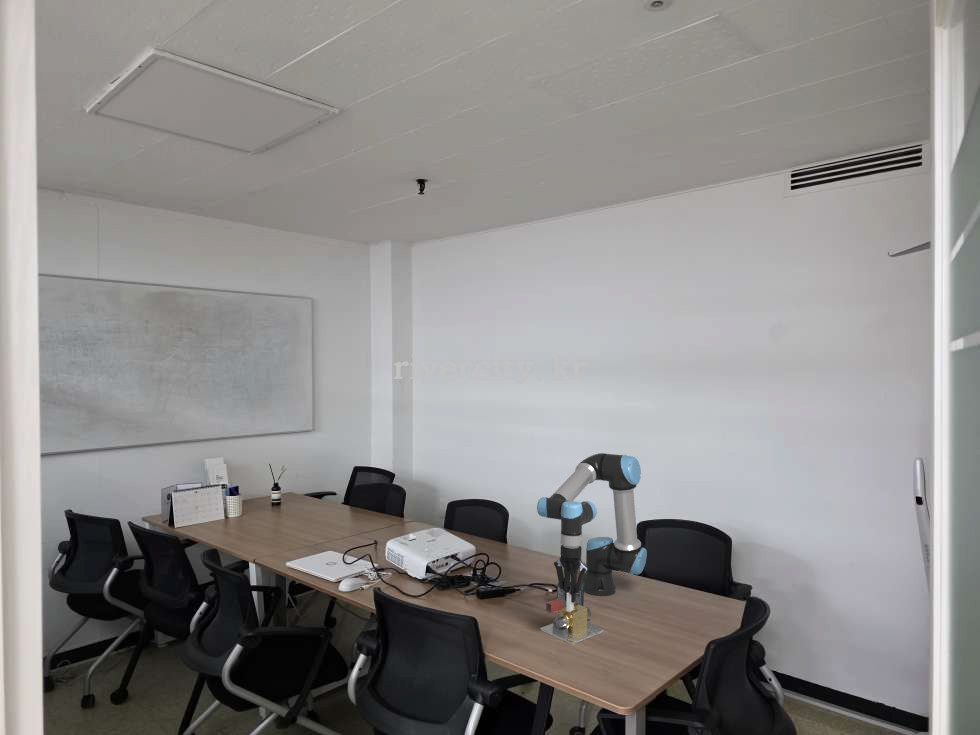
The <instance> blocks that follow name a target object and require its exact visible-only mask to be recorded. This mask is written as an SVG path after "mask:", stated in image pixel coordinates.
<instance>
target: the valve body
mask: <svg viewBox="0 0 980 735" xmlns="http://www.w3.org/2000/svg"><path fill="white" fill-rule="evenodd" d="M566 610H567V607H565V608H563V609H561V610H558V611H556V612H557V613H556V617H554V618H553V619H552V623H549V624H547V625H545V626H542V627H540V628H539V631H541V632H544V633H546V634H548V635H549V636H552V637H554V638H556V639H559V640H560V641H563V642H565V643H567V644H569V645H572V646H573V645H575V644H577V643H580V642H581V641H584V640H587V639H589V638H592V637H594V636H596V635H599V634H601V633H604V631H605V630H604V628H601V627H598V626H596V625H593V624H592V620H591V614H592V612H591V610H590V608H589V607H587V606H581V605H579V604H578V605H577V606H574V610H572V611H571V612H568V611H566ZM589 618H590V619H589Z"/></svg>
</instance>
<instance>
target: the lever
mask: <svg viewBox="0 0 980 735" xmlns="http://www.w3.org/2000/svg"><path fill="white" fill-rule="evenodd" d="M577 605H578V595H576V601H575V602H574V606H577ZM565 607H567V601H565V597H563V598H560V599H557V598H555V599H552V600H549V601H546V602H545V611H546V612H549V613H555V612H557V611H558V610H561V609H563V608H565Z"/></svg>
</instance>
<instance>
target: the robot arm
mask: <svg viewBox="0 0 980 735" xmlns="http://www.w3.org/2000/svg"><path fill="white" fill-rule="evenodd" d="M641 474H642V469H641V465H640V463H639V460H638V459H637V458H636V457H635V456H631V455H627V454H613V453H612V454H611V453H603V452H600V453H596V454H593V455H590V456H588V457H586V458H584V459H583V460H581V462H579V463H577V465H576V467H575V470H574V472H573V473H572V474H571V475H569V477H567V479H566V480H565V481H564V482H563V483H562V484H561V485H560V487H559V488H558V489H556V491H554V493H552V495H550V497H548V496H546V497H543V496H542V497H540V498H539V499H538V501H537V505H536V510H537V511H536V512H537V514H538V515H539V516H540V517H543V518H547V519H553V520H558V521H559V520H560V544H561V545H560V557H559V560H556V561H554V562H553V565H554V568H555V570H556V576H557V580H558V583H559V586H560V589H561V590H564V592H565V601H567V610H566V611H568V612H571V611H572V610H574V602H575V601H576V593H578V592H580V591H581V589H582V585H583V583H584V593H586V594H589V595H593V596H601V597H602V596H610V595H614V594H615V593H616V592H617V587H616V586H617V585H616V582H615V578H614V576H613V571H615V572H622V573H625V574H626V573H627V574H629V575H640V574H641V573H642V572H643V570H644V569H645V566H646V562H647V556H648V551H647V549H646V548H645V547H642V542H641V541H640V540H641V539H638V534H637V533H638V531H637V521H636V519H637V518H636V510H635V509H636V505H635V504H636V503H635V493H634V490H636V488H637V485H638V484H639V483H640V481H641V477H642V475H641ZM595 481H603V482H608V487H609V489H610V490H612V493H613V494H612V495H613V506H614V517H615V528H616V529H615V532H616V540H613V538H611V537H609V536H598V537H591V538H590V539H588V540H587V541H586V548H585V551H586V552H585V554H586V556H585V557H586V558H585V559H586V560H585V563H586V564H585V565H584V564H583V561H582V541H583V540H582V537H583V536H582V530H583V525H585V524H587V523H591V522H592V521H593V520H594V519H595V518H596V517H597V513H598V512H597V508H596V506H595V504H594V503H593V502H591V501H588V500H585V501H576V500H575V499H577V497H578V496H579V495H580V494H581V493H582V492H583V490H584V489H585V488H586V487H587V486H588V485H590V484H593V483H594V482H595ZM578 570H579V574H578ZM577 577H578V578H577ZM570 582H571V589H570ZM569 590H571V591H569Z"/></svg>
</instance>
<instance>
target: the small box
mask: <svg viewBox="0 0 980 735" xmlns="http://www.w3.org/2000/svg"><path fill="white" fill-rule="evenodd" d="M556 586H557V587H556V588H557V589H556V590H557V591H556V599H560V598H563V597H565V592H564V590H561V589H560V586H559V582H557V585H556ZM570 589H571V581H570ZM569 591H571V590H569ZM584 594H585V592H584V583H583V585H582V589H581V591H580V592H578V593H576V595H578V604H579V605H581V606H584V605H585V604H584V601H585V600H584V599H585V598H584V597H585V596H584ZM584 607H585V606H584Z"/></svg>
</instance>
